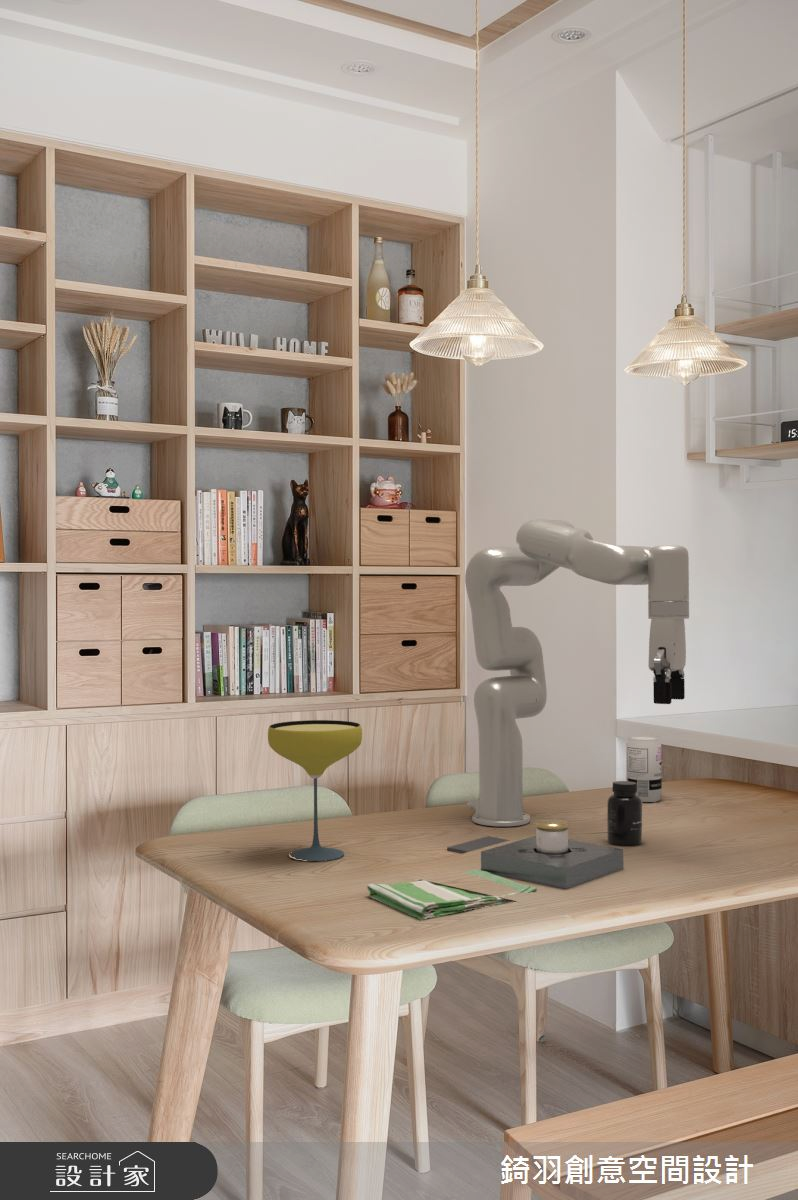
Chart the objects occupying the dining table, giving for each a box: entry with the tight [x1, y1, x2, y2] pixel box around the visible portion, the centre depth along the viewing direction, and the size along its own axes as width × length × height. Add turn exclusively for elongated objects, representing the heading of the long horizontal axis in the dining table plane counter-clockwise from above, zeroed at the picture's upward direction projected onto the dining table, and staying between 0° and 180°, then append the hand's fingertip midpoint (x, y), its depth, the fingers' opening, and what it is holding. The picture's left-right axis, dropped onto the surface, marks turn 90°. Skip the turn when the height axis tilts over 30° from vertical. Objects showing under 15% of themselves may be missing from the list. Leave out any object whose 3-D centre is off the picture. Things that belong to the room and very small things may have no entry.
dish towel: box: [366, 869, 538, 921], centre depth 185 cm, size 18×23×3 cm
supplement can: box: [625, 735, 663, 803], centre depth 268 cm, size 8×8×15 cm
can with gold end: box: [535, 818, 570, 855], centre depth 198 cm, size 6×6×8 cm
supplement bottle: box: [606, 780, 643, 847], centre depth 223 cm, size 7×7×12 cm
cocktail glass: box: [267, 719, 363, 862], centre depth 214 cm, size 18×18×25 cm
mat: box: [446, 835, 510, 854], centre depth 218 cm, size 13×13×1 cm
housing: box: [480, 835, 624, 890], centre depth 198 cm, size 18×18×4 cm
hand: (669, 701), depth 211 cm, fingers open, 9 cm apart
